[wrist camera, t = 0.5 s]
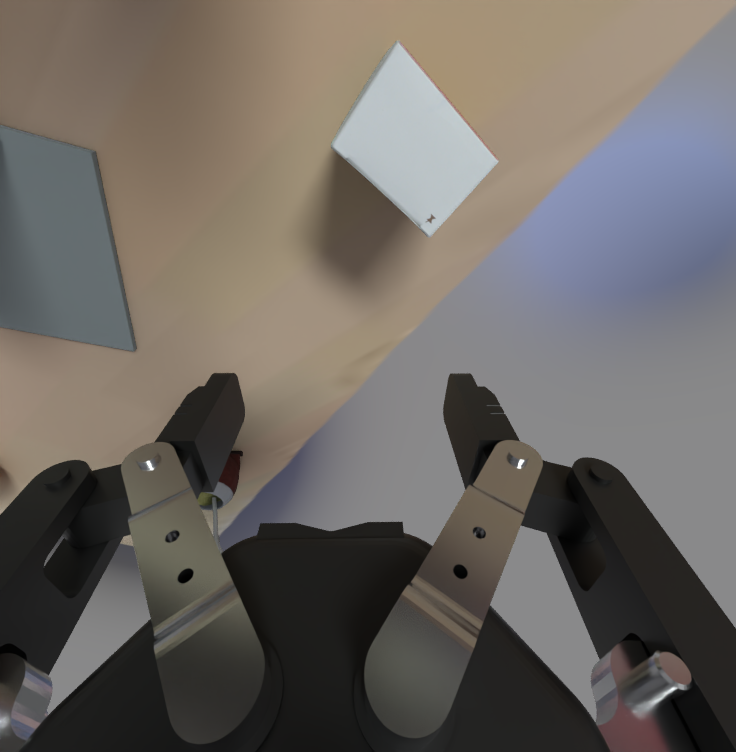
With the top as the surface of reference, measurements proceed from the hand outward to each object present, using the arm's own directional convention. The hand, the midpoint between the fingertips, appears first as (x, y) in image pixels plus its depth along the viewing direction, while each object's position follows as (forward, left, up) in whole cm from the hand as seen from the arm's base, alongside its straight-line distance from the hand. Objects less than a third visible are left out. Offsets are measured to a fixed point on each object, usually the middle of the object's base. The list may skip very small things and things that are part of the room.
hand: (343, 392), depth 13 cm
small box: (-7, +2, -23) cm, 24 cm away
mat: (+11, -32, -23) cm, 41 cm away
